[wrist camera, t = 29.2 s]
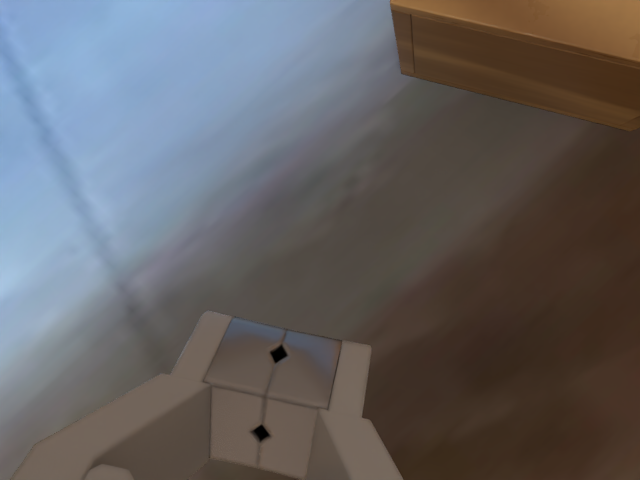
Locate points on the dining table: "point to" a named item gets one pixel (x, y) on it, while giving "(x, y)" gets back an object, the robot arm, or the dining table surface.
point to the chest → (519, 71)
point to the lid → (546, 23)
